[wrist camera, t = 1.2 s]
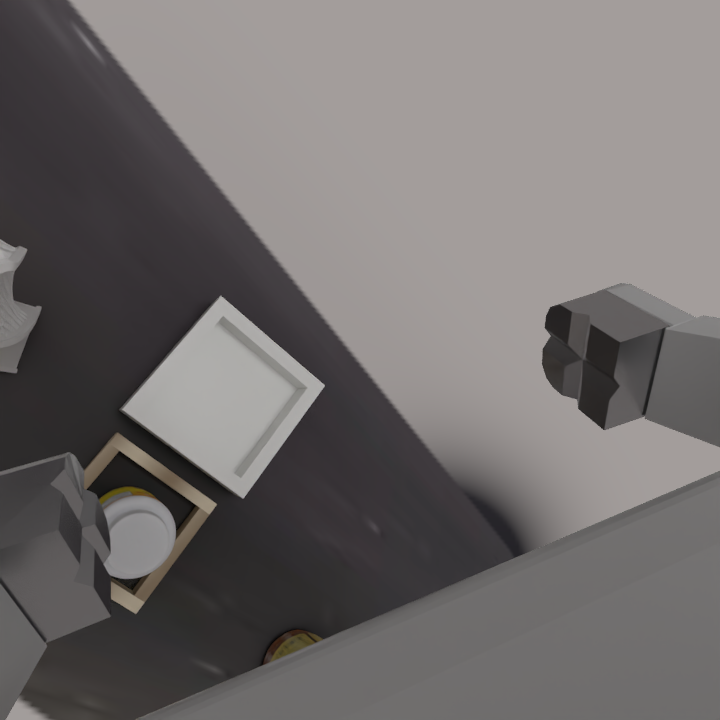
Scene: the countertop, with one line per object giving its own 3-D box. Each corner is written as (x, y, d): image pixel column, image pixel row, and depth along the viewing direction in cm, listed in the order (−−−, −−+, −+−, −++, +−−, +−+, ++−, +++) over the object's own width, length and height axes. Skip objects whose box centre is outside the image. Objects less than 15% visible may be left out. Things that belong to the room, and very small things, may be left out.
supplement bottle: (171, 533, 47) (195, 560, 38) (104, 568, 44) (112, 606, 35) (145, 472, 47) (162, 485, 37) (74, 505, 44) (75, 527, 35)
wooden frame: (23, 539, 42) (21, 544, 41) (116, 432, 46) (117, 432, 44) (133, 607, 45) (135, 614, 44) (212, 501, 49) (217, 504, 47)
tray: (118, 410, 46) (122, 409, 43) (211, 303, 50) (220, 295, 47) (232, 493, 50) (243, 498, 46) (310, 387, 54) (324, 385, 51)
